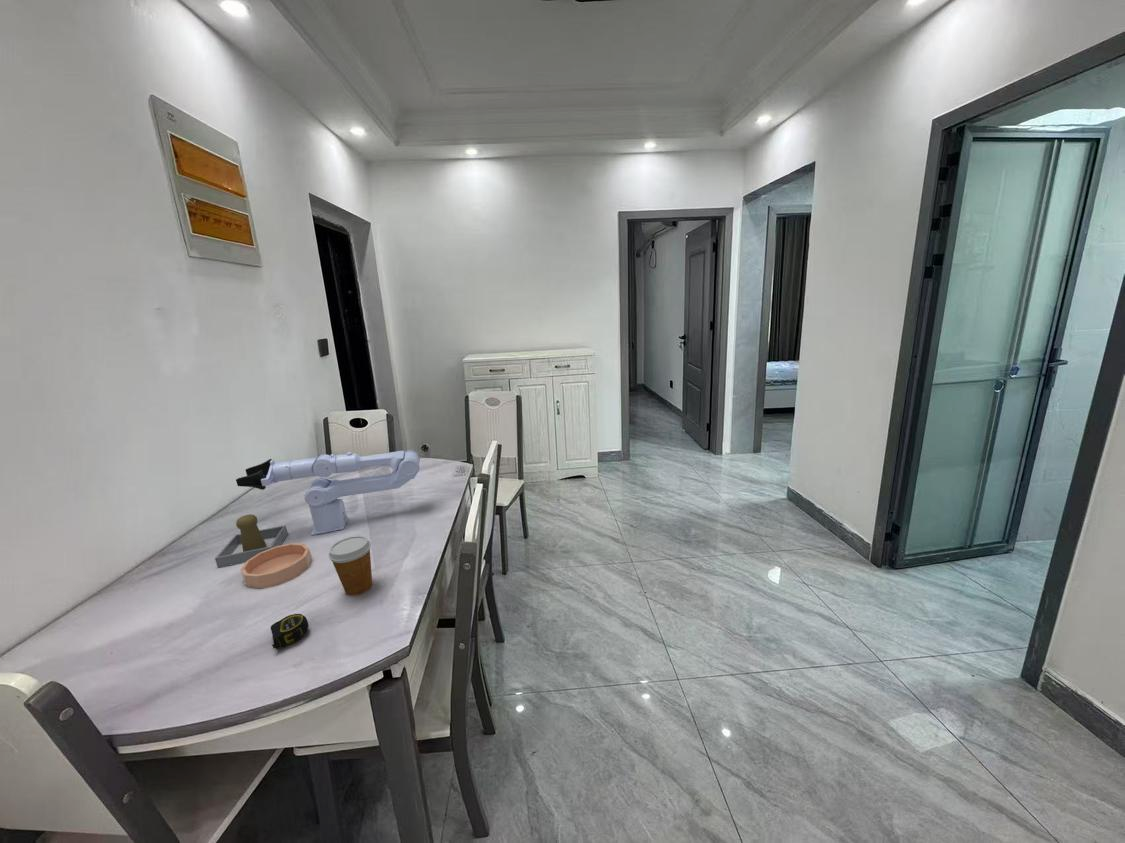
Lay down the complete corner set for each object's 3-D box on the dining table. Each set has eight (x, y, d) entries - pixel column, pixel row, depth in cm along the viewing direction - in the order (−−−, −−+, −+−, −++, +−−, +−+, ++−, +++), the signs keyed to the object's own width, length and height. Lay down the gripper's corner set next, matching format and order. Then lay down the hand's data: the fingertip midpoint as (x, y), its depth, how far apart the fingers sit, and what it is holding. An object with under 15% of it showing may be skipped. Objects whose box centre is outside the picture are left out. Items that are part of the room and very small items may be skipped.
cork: (255, 555, 133) (245, 521, 131) (238, 555, 135) (227, 521, 132) (271, 544, 139) (262, 511, 136) (255, 544, 140) (245, 511, 138)
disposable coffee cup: (338, 583, 116) (328, 541, 113) (378, 572, 119) (369, 531, 116) (337, 605, 107) (325, 560, 104) (380, 592, 111) (370, 548, 108)
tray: (288, 533, 145) (285, 525, 144) (273, 556, 132) (271, 547, 131) (237, 543, 142) (235, 534, 141) (217, 567, 129) (214, 558, 128)
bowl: (316, 549, 134) (314, 538, 133) (302, 579, 119) (299, 567, 118) (257, 561, 130) (254, 550, 129) (235, 593, 115) (231, 581, 114)
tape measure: (273, 636, 99) (268, 621, 98) (308, 622, 102) (304, 607, 101) (274, 654, 93) (270, 639, 92) (312, 639, 97) (307, 624, 96)
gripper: (295, 450, 145) (247, 456, 142) (282, 467, 132) (228, 474, 129) (300, 470, 148) (252, 477, 144) (288, 489, 134) (235, 497, 131)
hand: (241, 477), depth 137 cm, fingers open, 7 cm apart
